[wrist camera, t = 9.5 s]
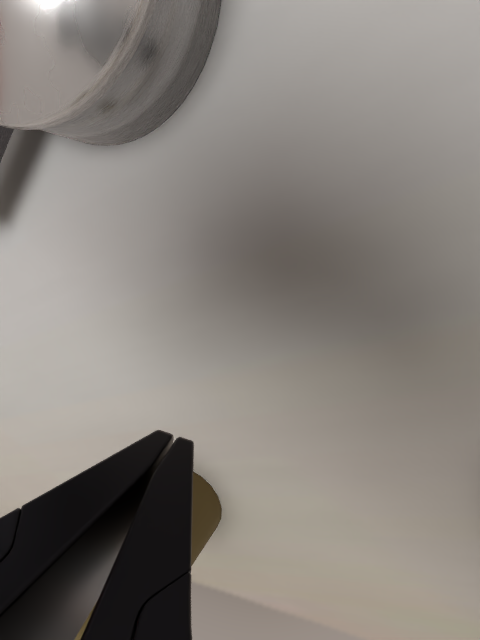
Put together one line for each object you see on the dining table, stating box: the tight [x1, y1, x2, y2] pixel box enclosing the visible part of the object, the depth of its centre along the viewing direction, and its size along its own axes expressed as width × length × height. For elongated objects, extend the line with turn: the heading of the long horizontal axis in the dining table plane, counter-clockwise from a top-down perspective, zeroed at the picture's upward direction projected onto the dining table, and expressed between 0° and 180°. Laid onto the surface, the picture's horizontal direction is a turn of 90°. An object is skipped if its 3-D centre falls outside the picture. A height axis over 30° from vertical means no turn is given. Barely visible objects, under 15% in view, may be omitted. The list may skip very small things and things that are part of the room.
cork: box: [74, 472, 221, 640], centre depth 21 cm, size 6×6×11 cm
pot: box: [0, 0, 221, 162], centre depth 17 cm, size 24×14×5 cm, turn 139°
